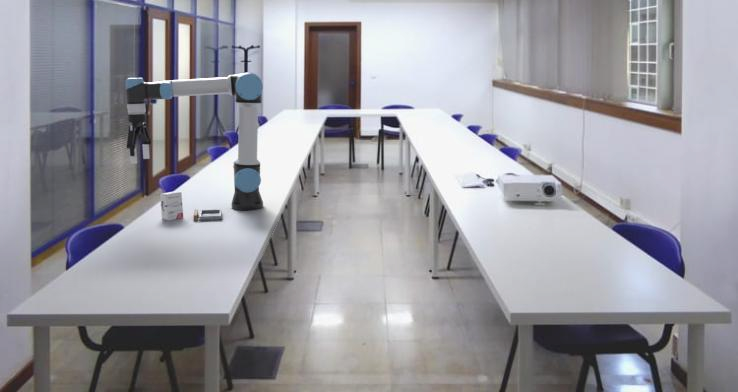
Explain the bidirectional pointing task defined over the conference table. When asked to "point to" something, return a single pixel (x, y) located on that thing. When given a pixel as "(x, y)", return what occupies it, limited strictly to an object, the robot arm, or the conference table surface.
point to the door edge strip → (195, 215)
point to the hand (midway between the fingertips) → (140, 161)
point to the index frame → (210, 215)
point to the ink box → (171, 205)
